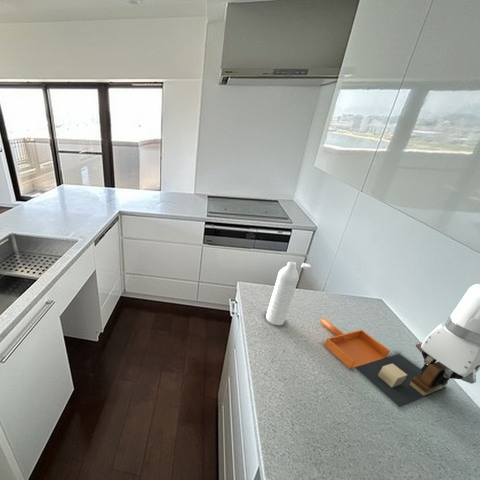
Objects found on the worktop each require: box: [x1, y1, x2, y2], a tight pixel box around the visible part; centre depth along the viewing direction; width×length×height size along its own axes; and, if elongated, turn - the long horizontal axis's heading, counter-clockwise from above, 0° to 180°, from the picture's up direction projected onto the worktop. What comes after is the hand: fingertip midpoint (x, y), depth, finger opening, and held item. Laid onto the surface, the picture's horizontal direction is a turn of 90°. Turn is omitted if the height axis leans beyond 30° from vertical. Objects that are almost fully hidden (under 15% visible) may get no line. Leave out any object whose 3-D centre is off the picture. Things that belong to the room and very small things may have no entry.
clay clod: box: [378, 363, 407, 387], centre depth 74 cm, size 4×4×4 cm
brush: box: [410, 361, 449, 396], centre depth 72 cm, size 8×4×9 cm, turn 107°
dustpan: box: [320, 317, 391, 369], centre depth 88 cm, size 18×16×3 cm
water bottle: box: [265, 260, 311, 326], centre depth 91 cm, size 9×6×25 cm
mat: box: [354, 353, 447, 408], centre depth 76 cm, size 20×12×1 cm, turn 107°
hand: (431, 378), depth 72 cm, fingers closed on brush, 2 cm apart
